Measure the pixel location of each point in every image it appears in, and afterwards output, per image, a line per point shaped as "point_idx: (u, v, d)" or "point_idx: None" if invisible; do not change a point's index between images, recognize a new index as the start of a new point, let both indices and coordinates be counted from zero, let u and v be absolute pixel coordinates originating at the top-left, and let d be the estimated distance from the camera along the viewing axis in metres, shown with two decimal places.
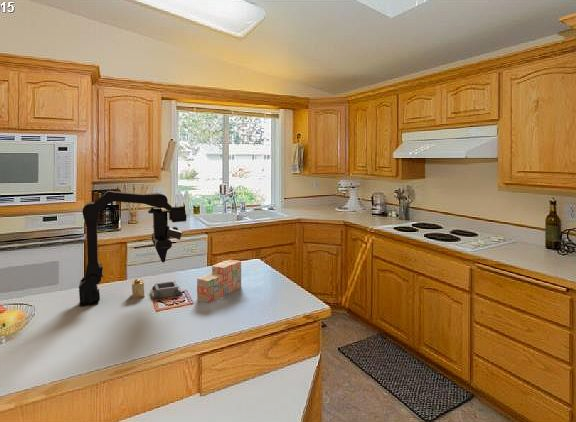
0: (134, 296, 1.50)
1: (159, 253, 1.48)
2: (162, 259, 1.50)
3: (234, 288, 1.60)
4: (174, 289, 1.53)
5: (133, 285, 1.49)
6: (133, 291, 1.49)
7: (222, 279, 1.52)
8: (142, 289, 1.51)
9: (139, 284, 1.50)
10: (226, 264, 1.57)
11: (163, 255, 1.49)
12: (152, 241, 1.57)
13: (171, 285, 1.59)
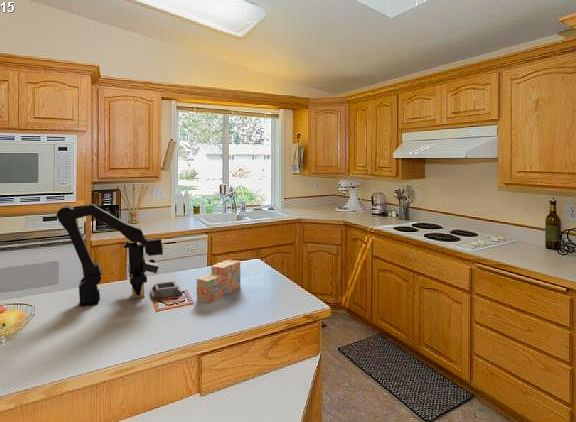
0: (134, 296, 1.50)
1: (134, 287, 1.48)
2: (137, 292, 1.49)
3: (233, 288, 1.60)
4: (174, 289, 1.53)
5: None
6: (133, 291, 1.49)
7: (222, 279, 1.52)
8: (142, 289, 1.51)
9: None
10: (225, 264, 1.57)
11: (138, 288, 1.49)
12: (129, 276, 1.53)
13: (171, 285, 1.59)
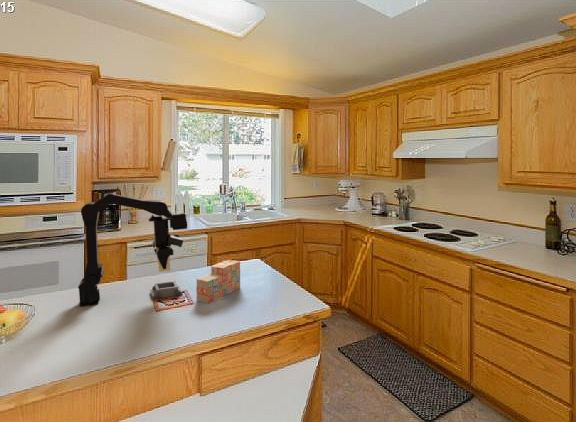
0: (160, 269, 1.51)
1: (160, 260, 1.49)
2: (163, 266, 1.51)
3: (233, 288, 1.59)
4: (174, 289, 1.53)
5: None
6: (159, 264, 1.51)
7: (221, 279, 1.52)
8: (168, 262, 1.52)
9: None
10: (225, 264, 1.56)
11: (164, 261, 1.50)
12: (154, 250, 1.54)
13: (171, 285, 1.59)
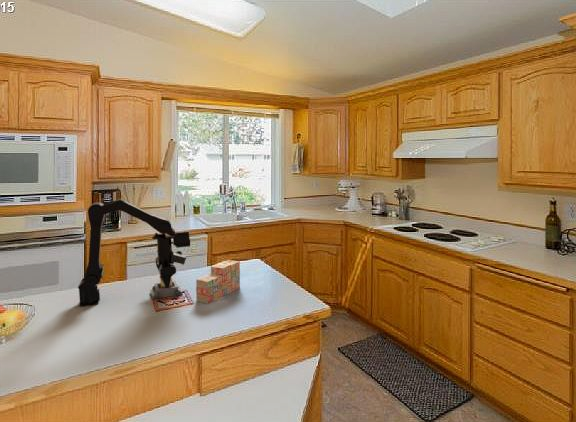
0: None
1: (163, 279, 1.48)
2: (166, 285, 1.50)
3: (233, 289, 1.59)
4: (174, 289, 1.53)
5: (162, 280, 1.52)
6: (162, 286, 1.52)
7: (221, 280, 1.51)
8: (170, 284, 1.53)
9: None
10: (225, 264, 1.56)
11: (168, 280, 1.49)
12: None
13: None
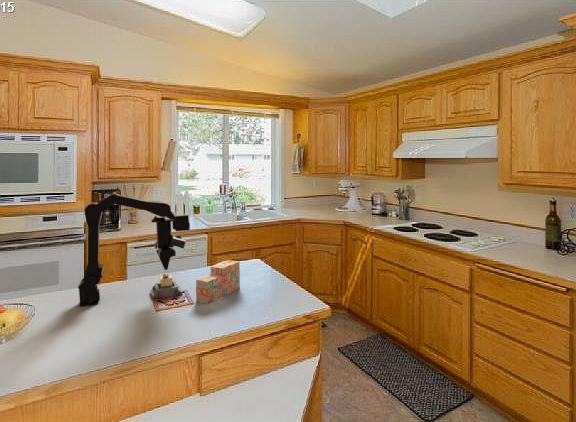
0: None
1: (162, 261, 1.49)
2: (165, 267, 1.51)
3: (233, 289, 1.59)
4: (174, 289, 1.53)
5: (162, 280, 1.52)
6: (162, 286, 1.52)
7: (221, 280, 1.51)
8: (170, 284, 1.53)
9: (167, 279, 1.53)
10: (225, 265, 1.56)
11: (166, 262, 1.51)
12: (156, 251, 1.54)
13: None
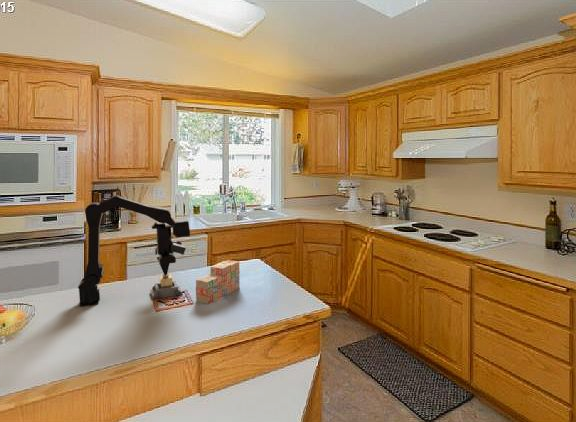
0: None
1: (161, 266, 1.51)
2: (164, 271, 1.53)
3: (232, 289, 1.59)
4: (174, 289, 1.53)
5: (162, 280, 1.52)
6: (162, 286, 1.52)
7: (221, 280, 1.51)
8: (170, 284, 1.53)
9: (167, 279, 1.53)
10: (225, 265, 1.56)
11: (166, 267, 1.53)
12: (157, 258, 1.53)
13: None
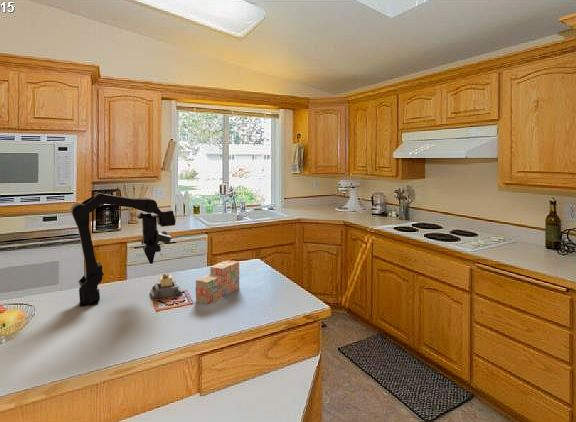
0: None
1: (147, 255, 1.54)
2: (150, 261, 1.56)
3: (232, 289, 1.59)
4: (174, 289, 1.53)
5: (162, 280, 1.52)
6: (162, 286, 1.52)
7: (221, 280, 1.51)
8: (170, 284, 1.53)
9: (167, 279, 1.53)
10: (224, 265, 1.55)
11: (151, 257, 1.55)
12: (143, 248, 1.55)
13: None
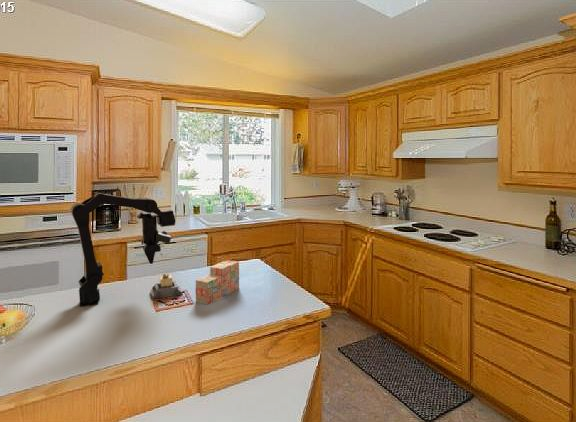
0: None
1: (147, 255, 1.54)
2: (150, 261, 1.56)
3: (232, 289, 1.59)
4: (174, 289, 1.53)
5: (162, 280, 1.52)
6: (162, 286, 1.52)
7: (221, 280, 1.51)
8: (170, 284, 1.53)
9: (167, 279, 1.53)
10: (224, 265, 1.55)
11: (151, 256, 1.55)
12: None
13: None
